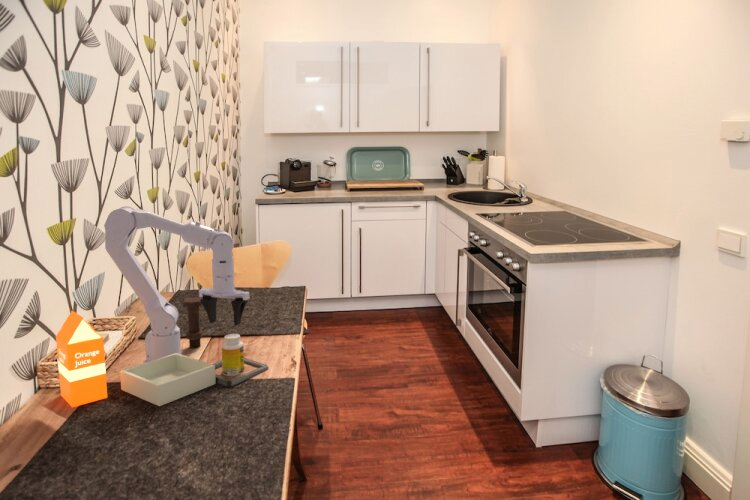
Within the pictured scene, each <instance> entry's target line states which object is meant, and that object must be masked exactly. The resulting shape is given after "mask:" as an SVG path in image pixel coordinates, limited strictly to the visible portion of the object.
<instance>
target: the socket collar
mask: <svg viewBox="0 0 750 500" xmlns="http://www.w3.org/2000/svg"><path fill="white" fill-rule="evenodd" d="M211 364H212V365H215V370H216V369H218V368H220V367H221V368H222V360H219V361H217V362H214V363H211ZM244 364H248V365H251V366H254V367H256V369H254V370H253V369H252V370H250V371H248V372H246V373H243V374H239V375H237V376H235V377H233V378H231V379H230V378H228V377H224V376H222V375H218V374H216V373H215V381H216V384H219V385H222V386H224V387H234V386H236V385H238V384H241V383H243V382H245V381H247V380H248V379H251V378H253V377H255V376H257V375H259V374H261V373H263V372H265V371H267V370H269V369H270V368H269V366H268V365H267V364H266V363H264V362H259V361H257V360H252V359H249V358H245V357H244Z"/></svg>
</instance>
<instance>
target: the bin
mask: <svg viewBox="0 0 750 500" xmlns="http://www.w3.org/2000/svg"><path fill="white" fill-rule="evenodd" d="M212 364H213V363H208V362H205V361H204V360H203V361H202V360H199V359H196V358H193V357H190V356H188V355H184V354H182V353H181V354H179V353H174V354H171V355H168V356H165V357H162V358H159V359H156V360H152V361H149V362H146V363H143V362H142V363H140V364H137V365H134V366H131V367H128V368H124V369H121V370H120V371H119V377H120V378H119V379H120V389H121V391H123V392H126V393H128V394H130V395H132V396H135V397H137V398H139V399H141V400H144V401H146V402H148V403H151V404H153V405H156V406H158V407H161V406H163V405H166V404H168V403H171V402H175V401H176V400H179V399H181V398H184V397H186V396H188V395H191V394H194V393H196V392H198V391H201V390H204V389H207V388H209V387H211V386H214V385H216V384H217V383H216V381H215V374H216V369H215V365H212Z"/></svg>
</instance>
